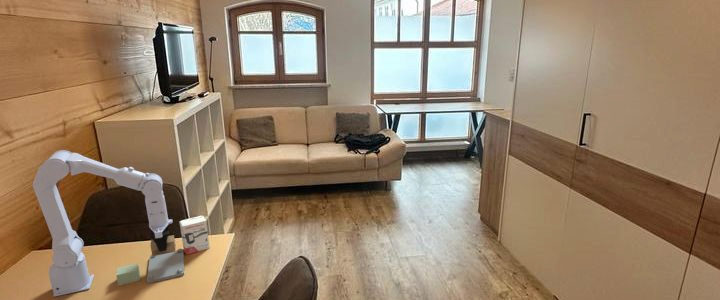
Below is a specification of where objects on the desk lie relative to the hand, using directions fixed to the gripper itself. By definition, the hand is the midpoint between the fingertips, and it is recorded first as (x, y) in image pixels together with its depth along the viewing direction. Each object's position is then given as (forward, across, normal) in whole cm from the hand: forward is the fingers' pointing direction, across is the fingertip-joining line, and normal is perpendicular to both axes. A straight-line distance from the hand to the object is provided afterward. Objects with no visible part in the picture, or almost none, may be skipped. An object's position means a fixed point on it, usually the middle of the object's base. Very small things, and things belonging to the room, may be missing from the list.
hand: (163, 246), depth 134 cm
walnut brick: (+2, 0, 0) cm, 2 cm away
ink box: (+8, +8, -10) cm, 15 cm away
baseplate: (+8, 0, 0) cm, 8 cm away
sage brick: (+8, -3, +11) cm, 14 cm away
